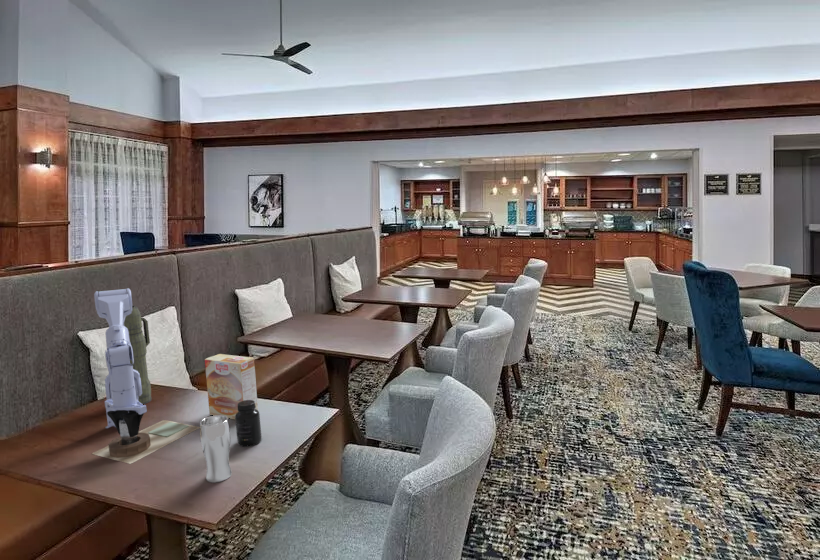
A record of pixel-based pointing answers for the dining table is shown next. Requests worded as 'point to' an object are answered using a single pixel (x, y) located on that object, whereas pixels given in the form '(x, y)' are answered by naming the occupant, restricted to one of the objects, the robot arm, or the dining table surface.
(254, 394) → the coffeecake box
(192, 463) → the dining table surface
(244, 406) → the supplement bottle
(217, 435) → the beer glass
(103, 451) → the board
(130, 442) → the pin
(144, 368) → the thermos
